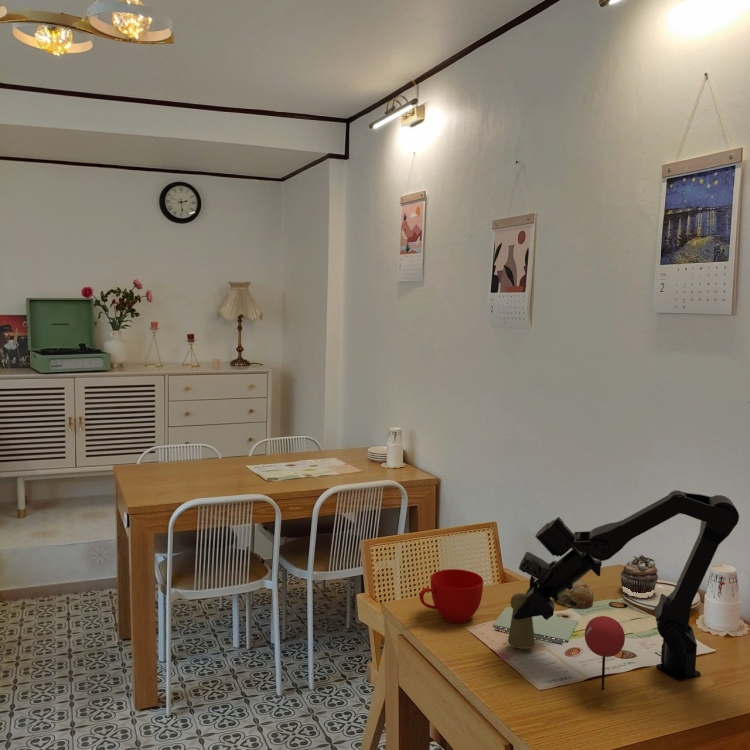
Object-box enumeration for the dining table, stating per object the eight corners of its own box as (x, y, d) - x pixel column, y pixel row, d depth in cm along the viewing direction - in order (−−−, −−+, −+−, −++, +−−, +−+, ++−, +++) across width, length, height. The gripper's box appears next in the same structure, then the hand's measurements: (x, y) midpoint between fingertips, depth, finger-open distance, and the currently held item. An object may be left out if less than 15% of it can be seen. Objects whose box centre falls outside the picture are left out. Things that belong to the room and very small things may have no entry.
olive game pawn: (533, 636, 172) (534, 590, 171) (536, 648, 166) (537, 601, 165) (506, 635, 173) (507, 589, 172) (508, 647, 167) (509, 599, 166)
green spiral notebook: (578, 622, 184) (578, 620, 184) (568, 642, 173) (568, 640, 173) (506, 608, 191) (506, 606, 191) (492, 626, 181) (492, 624, 181)
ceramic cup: (406, 615, 187) (407, 576, 186) (462, 603, 194) (464, 566, 193) (433, 636, 175) (434, 594, 174) (492, 622, 183) (494, 583, 182)
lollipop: (591, 675, 158) (595, 607, 156) (627, 688, 153) (631, 617, 151) (576, 689, 152) (579, 618, 150) (613, 703, 147) (616, 629, 145)
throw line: (563, 641, 173) (563, 640, 173) (562, 644, 172) (562, 643, 172) (496, 627, 180) (496, 626, 180) (494, 630, 179) (494, 629, 179)
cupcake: (632, 583, 210) (633, 548, 209) (663, 594, 203) (665, 558, 202) (611, 591, 204) (613, 555, 203) (643, 602, 197) (645, 565, 196)
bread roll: (552, 616, 196) (553, 594, 192) (555, 587, 204) (556, 566, 200) (592, 621, 193) (593, 599, 189) (593, 592, 202) (594, 570, 198)
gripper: (544, 531, 175) (496, 572, 179) (538, 557, 157) (484, 601, 161) (578, 567, 173) (529, 607, 178) (576, 597, 156) (521, 641, 160)
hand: (515, 613), depth 169 cm, fingers closed on olive game pawn, 5 cm apart
